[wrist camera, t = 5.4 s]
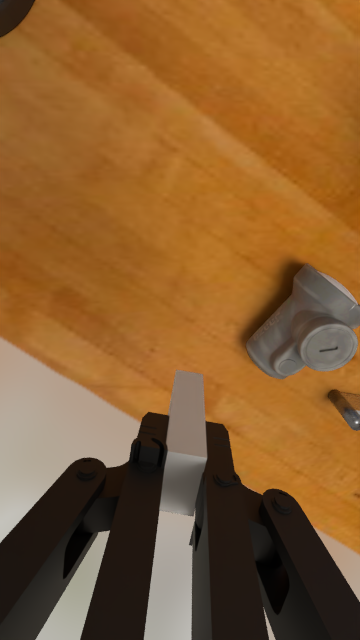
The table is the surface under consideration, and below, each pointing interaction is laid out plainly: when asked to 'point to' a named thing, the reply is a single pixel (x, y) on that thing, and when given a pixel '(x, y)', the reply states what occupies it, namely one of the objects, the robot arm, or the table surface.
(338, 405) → the grey metal frame
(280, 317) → the pipe fitting
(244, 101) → the table surface
